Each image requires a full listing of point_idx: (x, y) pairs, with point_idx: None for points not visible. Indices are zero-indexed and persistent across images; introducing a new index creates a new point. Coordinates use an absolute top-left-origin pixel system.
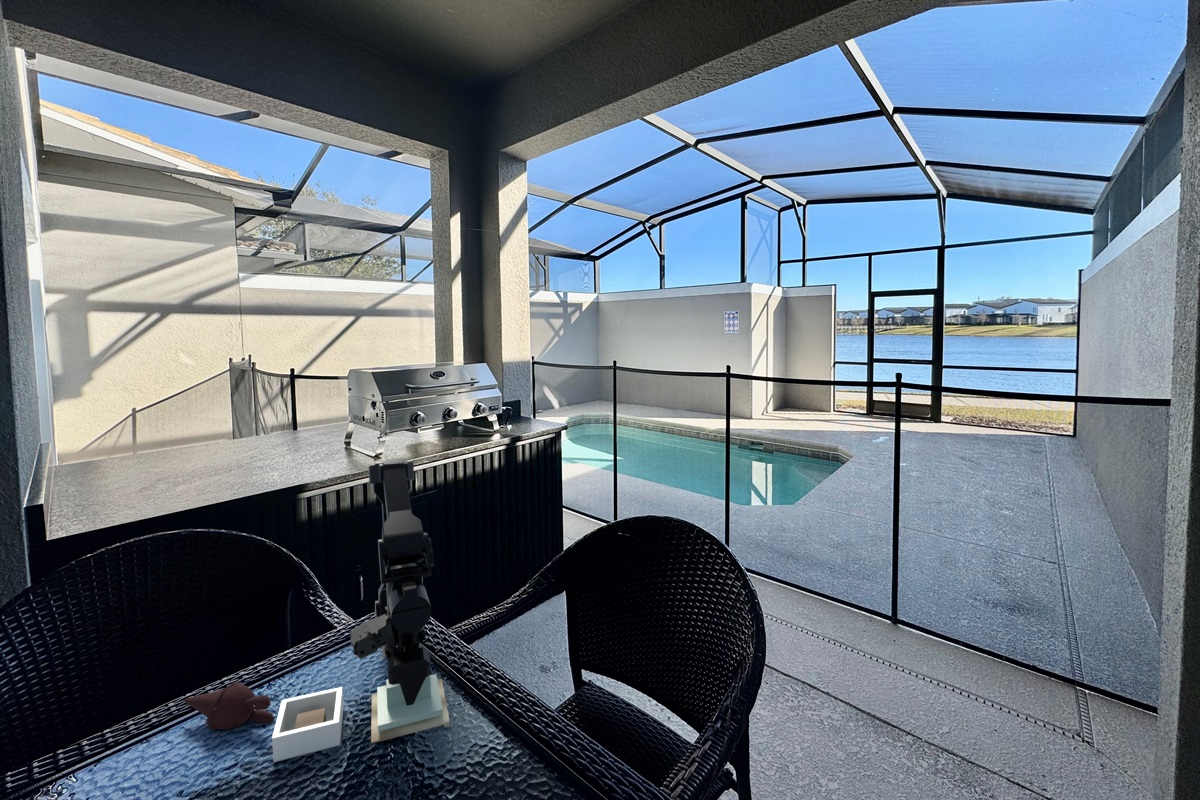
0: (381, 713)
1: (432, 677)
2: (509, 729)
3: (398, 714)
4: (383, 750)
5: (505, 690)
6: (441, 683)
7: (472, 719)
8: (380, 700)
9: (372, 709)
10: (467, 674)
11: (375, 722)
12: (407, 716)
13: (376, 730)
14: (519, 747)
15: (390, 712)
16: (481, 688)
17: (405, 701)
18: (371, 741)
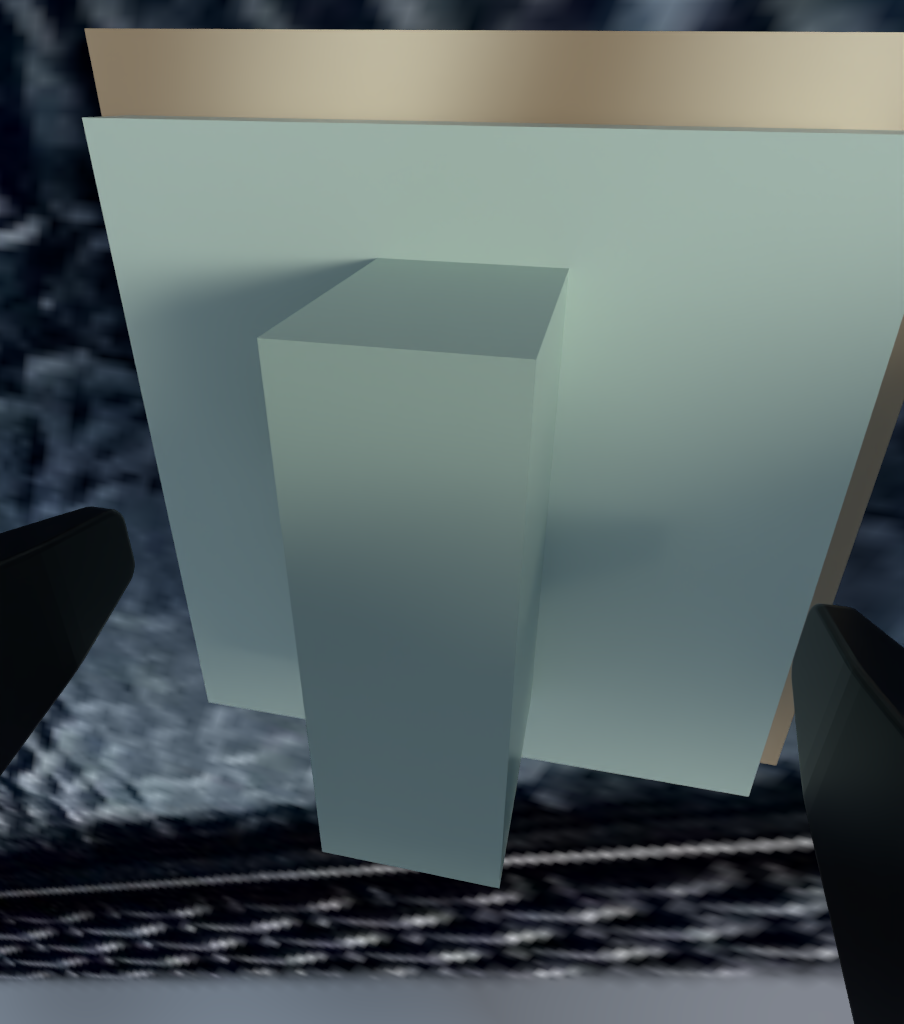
0: (295, 176)
1: (705, 758)
2: (138, 850)
3: (226, 369)
4: (66, 158)
5: (449, 949)
6: None
7: (257, 757)
8: (578, 174)
9: (652, 44)
10: (750, 882)
11: (382, 85)
12: (179, 446)
13: (252, 95)
14: (19, 834)
15: (278, 289)
16: (532, 882)
17: (17, 529)
18: (91, 33)
